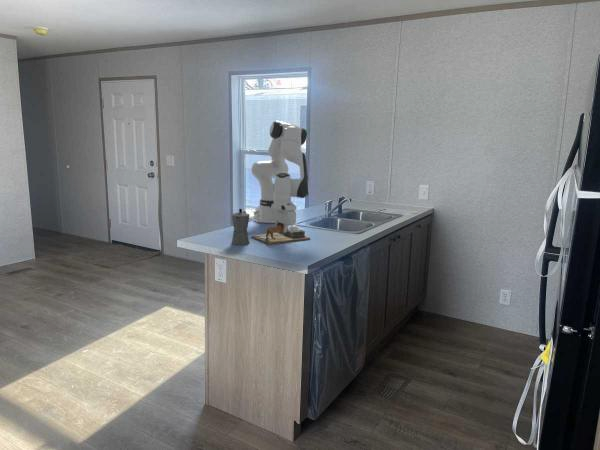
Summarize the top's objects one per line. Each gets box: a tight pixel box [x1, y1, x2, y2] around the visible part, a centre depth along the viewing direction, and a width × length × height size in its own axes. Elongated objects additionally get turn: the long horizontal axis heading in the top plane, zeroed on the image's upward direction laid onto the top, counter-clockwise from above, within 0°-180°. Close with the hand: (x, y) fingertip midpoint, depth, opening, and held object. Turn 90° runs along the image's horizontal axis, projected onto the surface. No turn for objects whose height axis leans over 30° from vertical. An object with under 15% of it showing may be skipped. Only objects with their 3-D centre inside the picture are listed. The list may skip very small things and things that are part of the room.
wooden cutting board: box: [250, 228, 311, 246], centre depth 240 cm, size 19×26×4 cm
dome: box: [288, 224, 301, 232], centre depth 243 cm, size 6×6×6 cm
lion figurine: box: [265, 222, 286, 241], centre depth 230 cm, size 15×5×9 cm, turn 123°
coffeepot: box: [231, 208, 250, 246], centre depth 227 cm, size 15×9×18 cm, turn 171°
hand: (281, 231), depth 231 cm, fingers open, 4 cm apart
